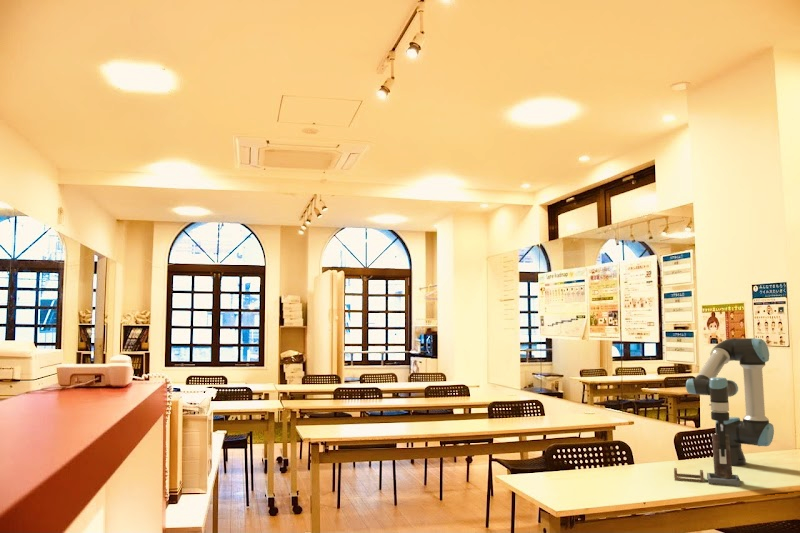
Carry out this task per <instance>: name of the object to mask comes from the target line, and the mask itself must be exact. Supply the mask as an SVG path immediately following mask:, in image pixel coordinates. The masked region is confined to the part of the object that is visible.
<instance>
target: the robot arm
mask: <svg viewBox="0 0 800 533" xmlns="http://www.w3.org/2000/svg"><path fill="white" fill-rule="evenodd" d="M709 354H710V356H709V358H708V359H707V361H706V362H705V363H704V365H703V367H702V368H701V370H700V371H699V372H698V374H697V375H696V376H695V378H694V377H693V378H688V379H687V380H686V382H685V388H686V389H685V390H686V392H687V393H688V394H690V395H699V396H710V397H709V398H710V403H709V405H708V406H710V410H711V411H710V412H711V413H710V417H711V420H712V421H715V426H714V427H715V434H719V447H718V449H719V456H720V464H727V461H726V440H725V434H728V435H729V441H730V453H731V465H732V466H745V465H747V459H746V457H745V454H744V451H743V449H742V445H749V446H750V445H751V446H757V447H769V446H770V445H771V444H772V442H773V439H774V432H775V428H774V425H773V423H771V422H770V420H769V417H768V416H766V412H765V411H766V410H765V408H766V406H765V394H764V392H765V391H764V377H763V376H764V375H763V374H764V373H763V369H764V367H765V366H766V363H767V362H769V360H770V350H769V347H768V344H767V342H766V341H765V340H764V339H763V338H762V339H761V338H755V337H753V338H737V337H735V338H733V337H732V338H728V339H727V338H726V339H725V340H723V341H721V342H719V343H717V344H716V345H715V346H714V347H713V348H712V350H711V351H710V352H709ZM730 361H732V362H733V361H737V362H739V365H740V366H741V367H742V368H743V369H742V371H743V386H744V403H745V405H744V406H745V415H744V416H743V417H742V420H741V418H740V417H738V416H737V417H736V416H734V417H733V416H731V417H730V412H729V411H730V404H729V397H730V398H731V397H734V396H736V394H737V393H738V391H739V386H738V384H737V383H736V381H733V380H730V379H727V378H726V377H717V376H718V375H719V373H721V370H722V369H723V368H724V366H725V365H726V364H728V363H729V362H730ZM712 460H714V458H713V459H712Z"/></svg>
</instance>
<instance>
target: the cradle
mask: <svg viewBox="0 0 800 533" xmlns="http://www.w3.org/2000/svg"><path fill="white" fill-rule="evenodd" d="M677 468H678V467H677ZM677 468H676V467H674V468H673V474H674V481H679V482H683V481H684V482H692V483H693V482H695V483H705V479H704V470H703V469H699V474H689V473H678V469H677Z"/></svg>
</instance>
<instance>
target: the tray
mask: <svg viewBox="0 0 800 533" xmlns="http://www.w3.org/2000/svg"><path fill="white" fill-rule="evenodd" d="M732 476H733V478H732V479H725V478H721V477H718V476H716V475H715V473H714V472H706V479H707V480H706V481H707V483H708V484H709V485H718V486H719V485H720V486H730V487H740V486H741V487H742V483H741V482H742V481H741V479H740V477H739V475H738V474H732Z"/></svg>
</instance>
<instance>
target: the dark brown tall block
mask: <svg viewBox="0 0 800 533" xmlns="http://www.w3.org/2000/svg"><path fill="white" fill-rule="evenodd" d="M711 440H712V441H711V442H712V454H713V458H714V459H713V468H714V470H713V471H714V472H713V473H715V475H716V476H718V477H721V478H725V479H732V478H733V476H732V475H733V468H732V466H733V465H731V453H730V441H729V435H728V434H725V440H726V461H727V464H720V456H719V449H718V447H719V434H716V433H712V434H711Z"/></svg>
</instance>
